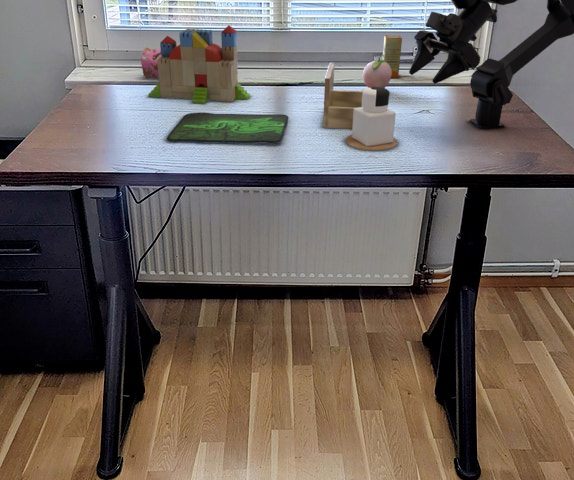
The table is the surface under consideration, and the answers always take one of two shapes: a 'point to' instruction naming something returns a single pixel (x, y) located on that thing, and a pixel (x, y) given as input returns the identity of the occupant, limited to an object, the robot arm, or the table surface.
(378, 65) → the decorative fruit
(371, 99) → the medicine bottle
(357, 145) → the cork coaster
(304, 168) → the table surface
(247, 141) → the mouse mat
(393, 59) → the shoe polish box
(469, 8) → the robot arm
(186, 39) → the block set
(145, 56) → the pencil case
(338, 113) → the spice rack
